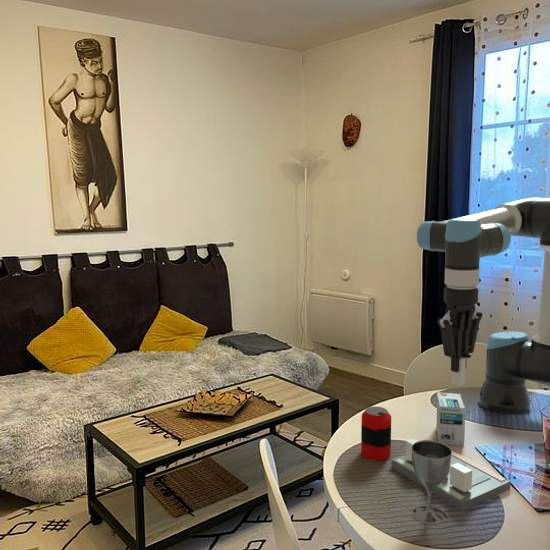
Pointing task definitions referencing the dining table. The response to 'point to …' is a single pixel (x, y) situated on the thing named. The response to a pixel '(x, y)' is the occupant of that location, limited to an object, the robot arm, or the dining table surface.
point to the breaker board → (482, 487)
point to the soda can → (376, 434)
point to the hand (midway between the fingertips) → (458, 383)
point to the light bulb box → (450, 418)
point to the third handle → (461, 477)
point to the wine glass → (430, 476)
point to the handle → (409, 448)
